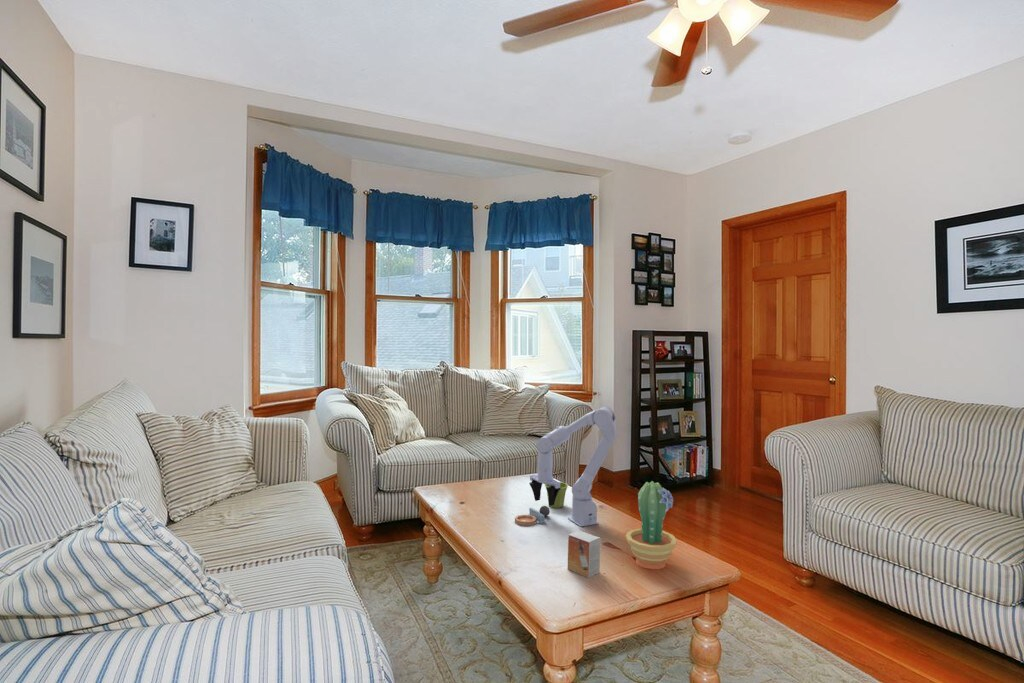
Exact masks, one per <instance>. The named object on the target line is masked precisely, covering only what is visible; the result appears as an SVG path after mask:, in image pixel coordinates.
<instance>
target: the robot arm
mask: <svg viewBox="0 0 1024 683" xmlns="http://www.w3.org/2000/svg"><path fill="white" fill-rule="evenodd" d="M587 425H589V426H590V425H591V426H595V425H596V426H597V427H598V428H599V430H600V433H601V435H602V437H601V438H600V441H599V442H598V444H597V446H596V448H595V450H594V452H593V454H592V455H591V458H590V459H589V460H588V461H589V462H587V465H586V467H585V469H584V471H583V472H582V474H581V476H580V477H578V478H577V479H576V482H575V483H574V484H573V485H572V487H571V493H572V497H571V498H572V501H571V502H572V504H571V505H572V506H571V507H572V509H571V510H572V513H571V516H568V517H567V519H568V520H570V521H571V522H573V523H574V524H576V525H578V526H579V527H586V526H591V525H592V526H593V525H598V524H599V521H598V519H597V517H598V516H597V515H598V512H597V511H598V508H597V504H596V503H595V502H594V501H593V499H592V498H593V496H592V493H591V490H592V489H593V481H594V480H595V478H596V476H597V475H598V474H597V473H599V470H600V468H601V466H602V465H603V462H604V460H605V459H606V457H607V455H608V453H609V451H610V450H611V447H612V446H613V444H614V442H615V440H616V438H617V435H618V432H617V422H616V416H615V413H614V411H613V410H612V408H611V407H609V406H604V405H603V406H601V407H599V408H598V409H594V410H592V411H590V412H588V413H586V414H584V415H583V416H581V417H579V418H578V419H577V420H575V421H573V422H571V423H570V424H569V425H567V426H565V425H560V426H559V425H557V426H556V427H555V429H554V430H552V431H550V432H546V433H545V434H544V436H542V437H540V438H539V439H538V440H537V442H536V446H535V447H536V449H537V453H538V454H537V475H536V474H530V475H529V481H531V482H529V486H530V488H531V491H532V493H533V497H534V501H535V502H537V501H540V500H541V492H542V491H541V490H542V486H543V485H545V484H546V485H549V486H551V487H548V488H547V490H546V492H547V491H548V496H549V504H548V506H549V507H551V506H552V505H554V503H555V499H556V496H557V494H558V492H559V490H560V482H561V481H557V480H555V479H554V477H553V466H554V464H553V462H554V460H553V458H554V457H553V449H554V448H556V447H558V446H559V445H562V444H563V443H565V442H567V441H569V439H570V438H571V434H574V432H577V431H578V430H581V429H582V428H583V427H585V426H587ZM548 496H547V497H548Z"/></svg>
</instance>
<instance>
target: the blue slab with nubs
mask: <svg viewBox="0 0 1024 683" xmlns="http://www.w3.org/2000/svg"><path fill="white" fill-rule="evenodd" d="M528 510H529V513H528V515H532V516H534V517H536V522H538V524H539V525H546V524H547V521H545V517H544V515H543V514H541V513H540V512H539V511H538V510H536V509H535V508H533V507H529V509H528Z"/></svg>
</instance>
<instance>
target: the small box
mask: <svg viewBox="0 0 1024 683" xmlns="http://www.w3.org/2000/svg"><path fill="white" fill-rule="evenodd" d="M567 539H568V542H567V544H568V545H567V546H568V547H567V569H568V570H569V571H572V572H575V573H577V574H579V575H581V576H583V577H586V578H591V577H593V576H594V575H596V574H599V573H600V570H601V569H600V568H601V567H600V565H601V563H600V562H601V537H599V536H596V535H594V534H590V533H587V532H584V531H582V530H576V531H575V532H572V533H569V534H568V538H567Z"/></svg>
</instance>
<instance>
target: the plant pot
mask: <svg viewBox="0 0 1024 683" xmlns="http://www.w3.org/2000/svg"><path fill="white" fill-rule="evenodd" d="M559 482H560V490H559V492H558V494H557V496H556V499H555V503H554V505H552V506H550V507H552V508H553V509H560V508H563V507H564V506H565V497H566V491H567V490H568V487H569V485H568V483H566V482H562V481H559ZM544 487H545V490H546V493H547V494H546V495H547V501H548V502H547V505H549V496H548V491H547V488H548V487H551V486H549V485H546V484H544Z"/></svg>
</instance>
